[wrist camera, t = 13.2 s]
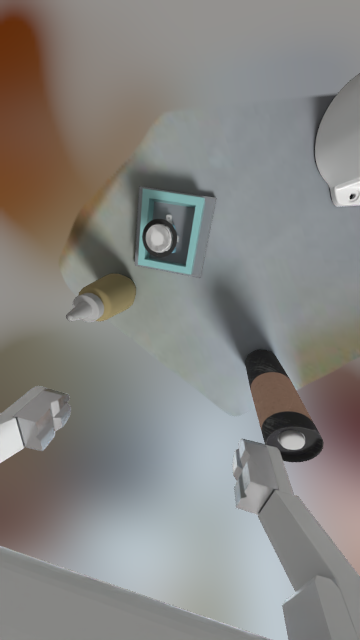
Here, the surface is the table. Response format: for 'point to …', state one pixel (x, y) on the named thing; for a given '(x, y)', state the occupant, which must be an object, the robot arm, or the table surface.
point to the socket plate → (190, 226)
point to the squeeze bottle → (103, 299)
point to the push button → (160, 237)
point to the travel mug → (281, 409)
